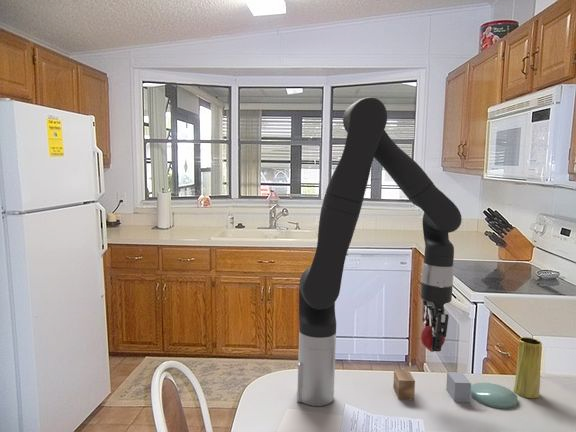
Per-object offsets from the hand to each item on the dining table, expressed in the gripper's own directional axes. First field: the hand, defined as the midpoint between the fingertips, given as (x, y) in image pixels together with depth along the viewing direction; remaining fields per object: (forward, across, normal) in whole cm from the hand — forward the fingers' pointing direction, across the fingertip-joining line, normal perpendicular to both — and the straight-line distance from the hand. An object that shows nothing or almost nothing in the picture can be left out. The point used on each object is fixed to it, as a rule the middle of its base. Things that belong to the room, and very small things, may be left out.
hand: (432, 345), depth 112 cm
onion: (+2, 0, 0) cm, 2 cm away
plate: (+13, 0, +16) cm, 21 cm away
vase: (+13, -3, +26) cm, 30 cm away
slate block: (+13, 0, +8) cm, 15 cm away
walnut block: (+13, 0, -6) cm, 15 cm away
